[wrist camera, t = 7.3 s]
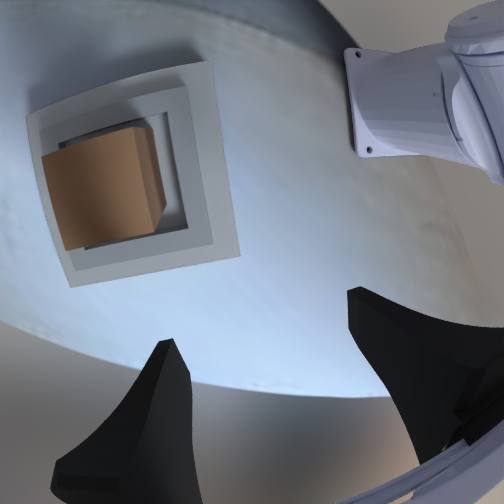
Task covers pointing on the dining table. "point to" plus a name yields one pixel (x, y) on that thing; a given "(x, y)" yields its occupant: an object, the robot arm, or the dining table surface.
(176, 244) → the grey square tray
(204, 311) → the dining table surface
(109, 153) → the walnut block
